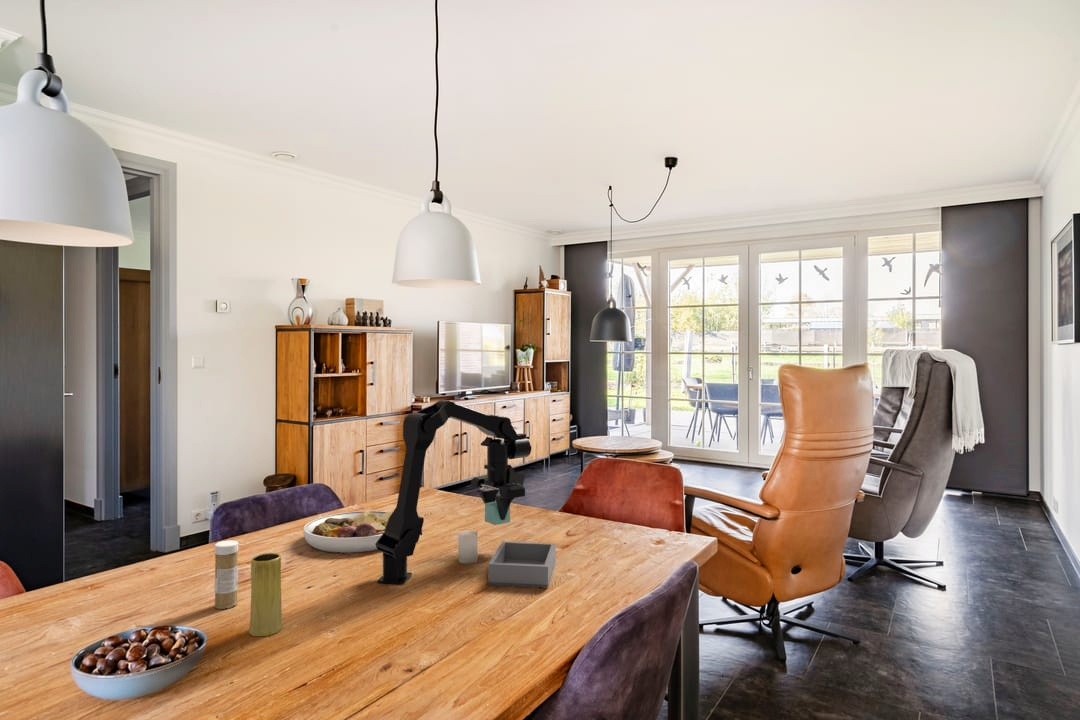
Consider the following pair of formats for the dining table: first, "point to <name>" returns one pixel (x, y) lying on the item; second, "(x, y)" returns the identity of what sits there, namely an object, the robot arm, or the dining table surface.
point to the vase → (265, 595)
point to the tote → (522, 564)
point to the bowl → (347, 531)
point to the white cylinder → (467, 546)
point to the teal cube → (495, 514)
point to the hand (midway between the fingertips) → (497, 517)
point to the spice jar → (226, 574)
